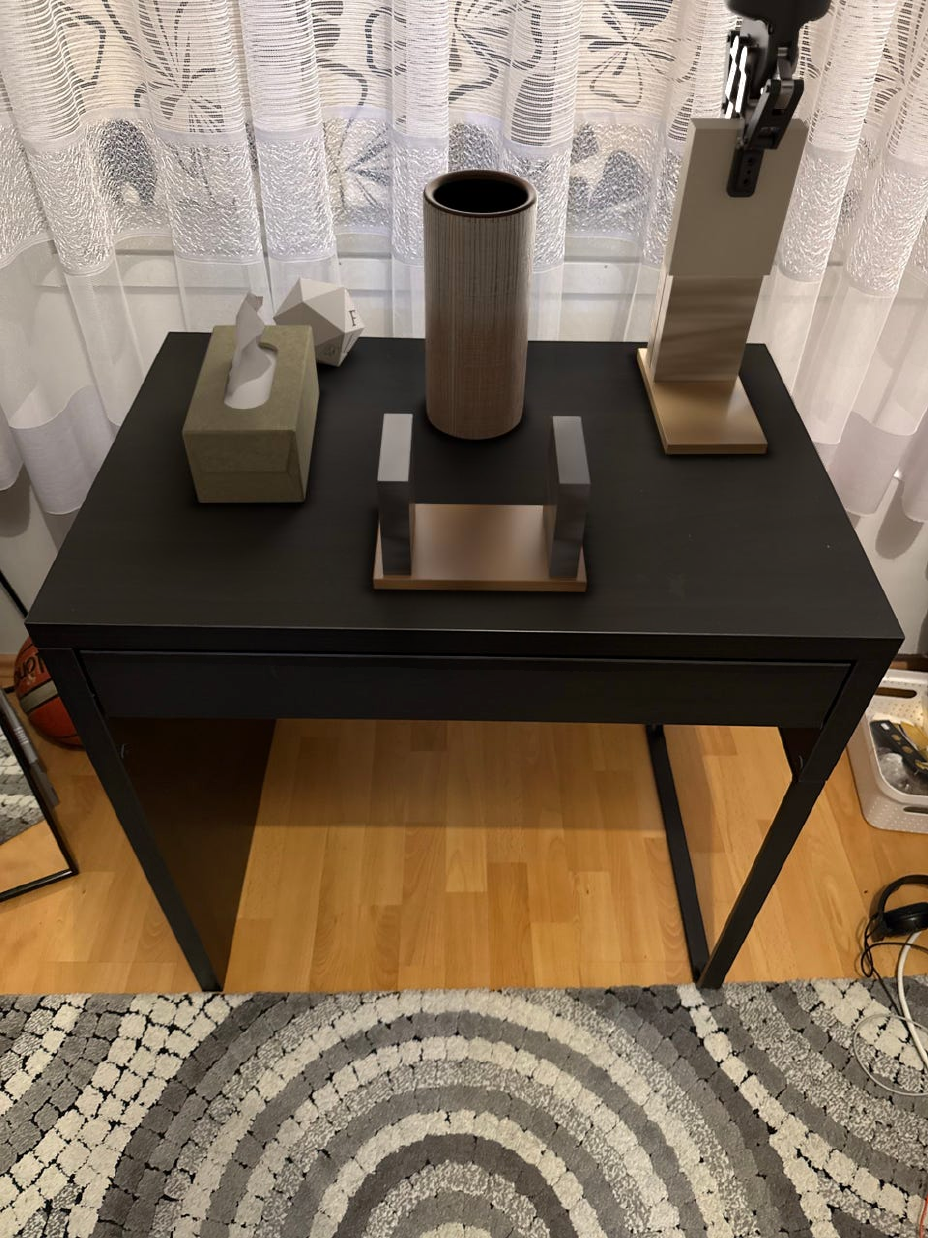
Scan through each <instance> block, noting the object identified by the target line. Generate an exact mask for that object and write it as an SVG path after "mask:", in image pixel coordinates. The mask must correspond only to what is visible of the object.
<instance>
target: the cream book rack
mask: <svg viewBox="0 0 928 1238" xmlns="http://www.w3.org/2000/svg"><path fill="white" fill-rule="evenodd" d="M665 252H666V251H664V252H663V257H662V262H661V268H660V273H659V278H658V279H659V280H658V285H657V290H656V297H655V302H654V308H653V314H652V319H651V324H650V329H649V335H648V340H647V346H646V348H638V349H637V355H636V359H637V363H638V366H639V367H638V368H639V369H640V374H641V376H642V379H643V383H644V387H645V389H646V393H647V396H648V399H649V402H650V406H651V409H652V413H653V417H654V419H655V423H656V425H657V429H658V432H659V436H660V439H661V443H662V445H663V448H664V452H665V454H666V455H718V454H719V455H729V454H730V455H732V454H734V455H736V454H738V455H740V454H745V455H748V454H766V451H767V448H768V445H769V443H768V442H767V438H766V436H765V434H764V432H763V429H762V427H761V425H760V423H759V420H758V418H757V415H756V413H755V410H754V409H753V406H752V405H751V402H750V399H749V397H748V395H747V392H746V390H745V388H744V385H743V383H742V381H741V379H740V376H739V372H740V368H741V364H742V361H743V357H744V354H745V353H744V352H745V349H746V346H747V342H748V337H749V334H750V330H751V327H752V322H753V319H754V315H755V312H756V309H757V308H756V307H757V304H758V300H759V296H760V292H761V289H762V285H763V281H764V277H765V275H701V276H669V275H668V273H667V270H666V268H665V265H664V258H665Z"/></svg>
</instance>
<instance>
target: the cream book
mask: <svg viewBox="0 0 928 1238" xmlns="http://www.w3.org/2000/svg"><path fill="white" fill-rule="evenodd" d="M739 122H740V118H725V117H690V118H689V119H688V125H687V129H686V134H685V135H686V136H685V141H684V147H683V151H682V158H681V164H680V168H679V174H678V180H677V185H676V190H675V197H674V201H673V208H672V213H671V220H670V223H669V224H670V225H669V230H668V236H667V241H666V247H665V251H664V252H665V258H664V265H665V268H666V270H667V273H668V275H669V276H701V275H764V276H771V274H772V273H771V272H772V269H773V265H774V261H775V259H776V258H775V257H776V254H777V250H778V246H779V243H780V240H781V237H782V231H783V228H784V224H785V222H786V221H785V220H786V217H787V214H788V210H789V206H790V202H791V198H792V195H793V191H794V186H795V183H796V180H797V176H798V172H799V168H800V165H801V161H802V157H803V154H804V150H805V146H806V142H807V139H808V134H809V132H810V131H809V130H810V129H809V127H808V126H807V125H806V123H805V122H804V121H803V120H802V118H799V117H797V118H794V117H792V119H791V121H790V123H789V125H788V127H787V129H786V131H785V134H784V136H783V138H782V140H781V142H780V144H779V147H778V149H777V150H770V149H768V150H767V149H765V151H764V155H763V159H762V164H761V168H760V172H759V176H758V180H757V184H756V189H755V192H754V194H753V195H752V196H751V197H747V198H733V197H730V196H729V195H728V193H727V191H726V187H727V182H728V178H729V173H730V168H731V164H732V159H733V155H734V150H735V147H736V138H737V133H738V128H739ZM750 122H751V121H750ZM760 131H763V128H762V129H761V130H760Z"/></svg>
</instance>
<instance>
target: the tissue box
mask: <svg viewBox="0 0 928 1238" xmlns="http://www.w3.org/2000/svg"><path fill="white" fill-rule="evenodd" d="M263 301H264V296H263V295H261V296H259V295H258V296H257V295H256V294H254V293H252V292H251V291H248V292H247V294H246V296H245V297H244V300H243V301H242V303H241V305H240V308H239V310H238V312H237V313H236V316H235V323H234V324H233V325H230V324H226V325H225V324H219V325H218V324H217V325H216V324H215V325H214V326H213V327H212V331H211V335H210V338H209V340H208V344H207V348H206V351H205V354H204V358H203V361H202V364H201V367H200V371H199V374H198V377H197V380H196V384H195V388H194V391H193V395H192V397H191V400H190V404H189V408H188V411H187V414H186V418H185V420H184V424H183V428H182V431H181V435H182V439H183V443H184V447H185V451H186V454H187V455H186V456H187V460H188V463H189V467H190V473H191V475H192V480H193V484H194V488H195V492H196V496H197V500H198V502H199V503H200V504H230V503H232V504H234V503H235V504H240V503H241V504H242V503H243V504H244V503H245V504H246V503H247V504H249V503H251V504H252V503H255V504H256V503H303V502H305V501H306V493H307V492H306V491H307V486H308V478H309V472H310V464H311V458H312V457H311V456H312V449H313V442H314V435H315V426H316V420H317V413H318V404H319V397H320V388H319V379H318V370H317V362H316V360H315V351H314V342H313V333H312V327H311V326H310V325H276V324H271V325H269V324H265V323H264V321H263V320H262V318H261V317H260V316H259V314H258V312H259V311H260V309H261V307H262V306H263Z"/></svg>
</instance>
